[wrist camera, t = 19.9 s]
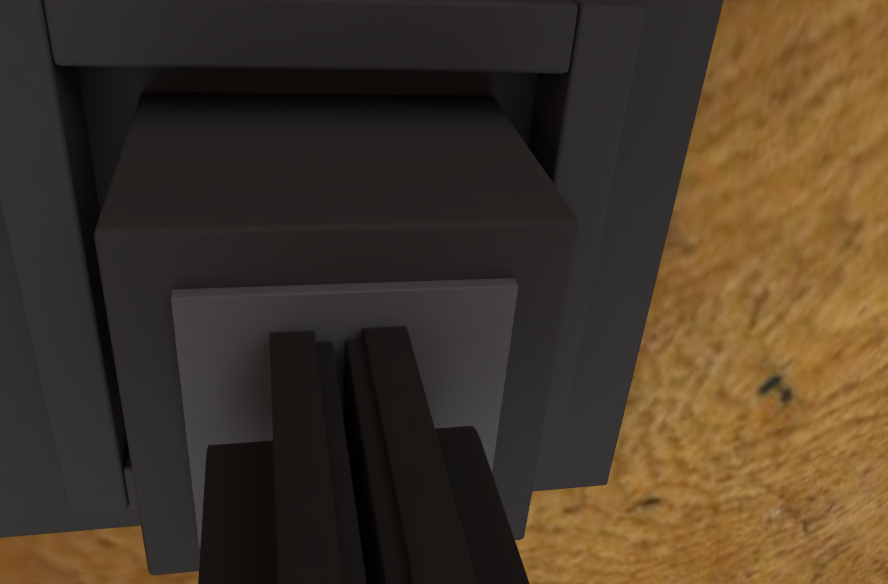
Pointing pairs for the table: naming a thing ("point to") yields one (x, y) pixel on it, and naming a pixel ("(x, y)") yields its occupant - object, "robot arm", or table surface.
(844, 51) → the table surface
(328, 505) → the robot arm
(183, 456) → the small cube
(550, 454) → the base pad
